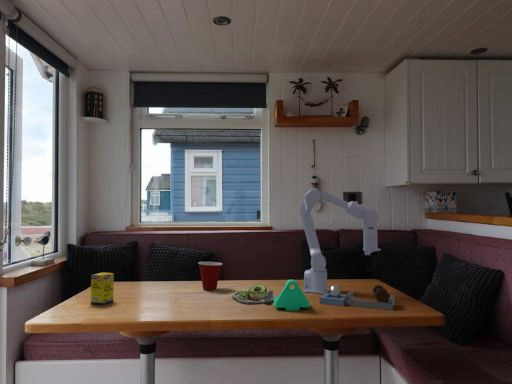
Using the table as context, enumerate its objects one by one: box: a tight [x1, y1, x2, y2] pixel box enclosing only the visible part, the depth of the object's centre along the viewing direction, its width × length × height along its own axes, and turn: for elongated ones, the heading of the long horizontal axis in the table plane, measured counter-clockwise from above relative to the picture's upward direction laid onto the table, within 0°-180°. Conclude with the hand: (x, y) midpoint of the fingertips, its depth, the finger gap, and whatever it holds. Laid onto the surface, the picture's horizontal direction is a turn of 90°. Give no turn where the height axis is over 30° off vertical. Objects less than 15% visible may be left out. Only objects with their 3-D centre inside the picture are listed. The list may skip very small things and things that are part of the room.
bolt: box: [372, 284, 391, 303], centre depth 155 cm, size 6×5×15 cm
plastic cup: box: [197, 261, 223, 292], centre depth 171 cm, size 11×11×12 cm
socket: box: [319, 292, 347, 307], centre depth 148 cm, size 9×9×2 cm
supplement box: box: [90, 272, 115, 306], centre depth 147 cm, size 6×6×11 cm
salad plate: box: [232, 283, 278, 305], centre depth 153 cm, size 19×18×5 cm
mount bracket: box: [345, 290, 396, 311], centre depth 144 cm, size 16×8×4 cm, turn 64°
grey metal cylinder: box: [330, 284, 341, 298], centre depth 148 cm, size 3×3×6 cm
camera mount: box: [273, 279, 311, 311], centre depth 141 cm, size 12×8×10 cm, turn 94°
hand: (370, 270), depth 163 cm, fingers open, 7 cm apart
